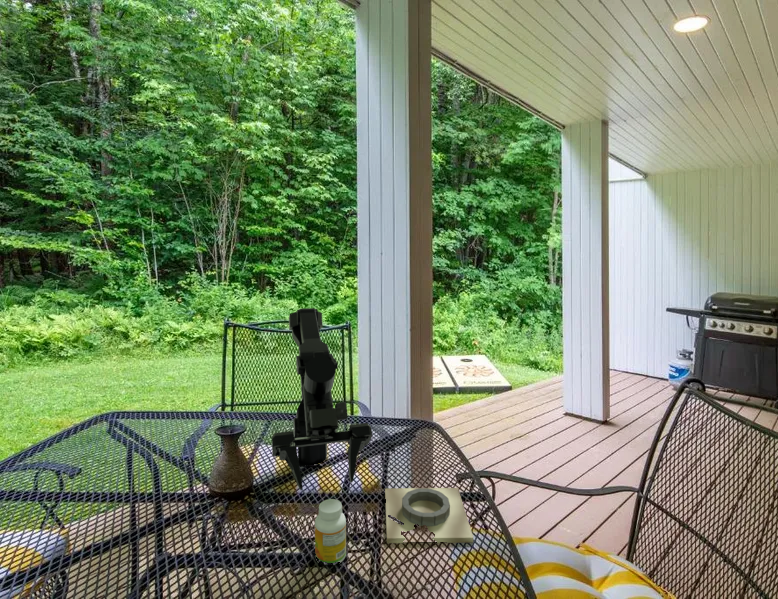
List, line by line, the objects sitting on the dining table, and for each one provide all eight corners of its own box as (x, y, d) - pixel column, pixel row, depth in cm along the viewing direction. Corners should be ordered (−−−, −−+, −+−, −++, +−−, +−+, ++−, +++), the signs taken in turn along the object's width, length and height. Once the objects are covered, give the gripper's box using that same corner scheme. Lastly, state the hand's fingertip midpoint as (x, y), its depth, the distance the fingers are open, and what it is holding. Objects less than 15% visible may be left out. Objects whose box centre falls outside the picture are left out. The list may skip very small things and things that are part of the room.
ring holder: (386, 543, 83) (387, 528, 82) (385, 492, 98) (385, 480, 98) (473, 542, 83) (473, 527, 83) (457, 492, 99) (458, 479, 98)
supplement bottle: (316, 545, 82) (315, 497, 80) (346, 544, 82) (346, 495, 81) (314, 568, 76) (313, 516, 75) (345, 566, 77) (345, 514, 75)
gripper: (270, 392, 82) (273, 480, 73) (370, 383, 87) (384, 465, 78) (270, 416, 90) (274, 497, 81) (361, 407, 95) (373, 483, 86)
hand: (326, 485), depth 82 cm, fingers open, 9 cm apart
